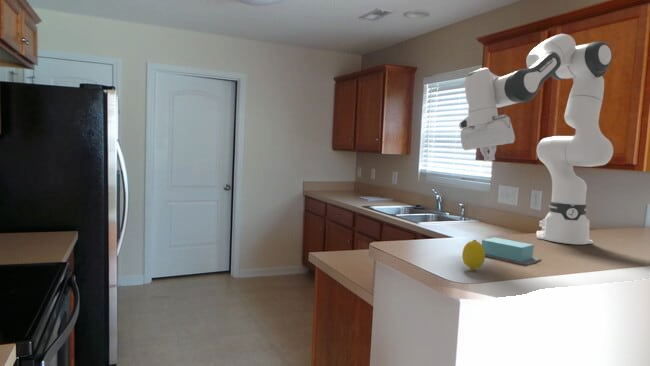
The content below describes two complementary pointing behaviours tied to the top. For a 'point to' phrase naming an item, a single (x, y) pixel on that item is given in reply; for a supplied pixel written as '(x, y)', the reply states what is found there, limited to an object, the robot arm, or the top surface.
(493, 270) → the top surface
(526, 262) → the mat
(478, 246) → the lemon
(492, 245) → the teal block
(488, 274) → the top surface
